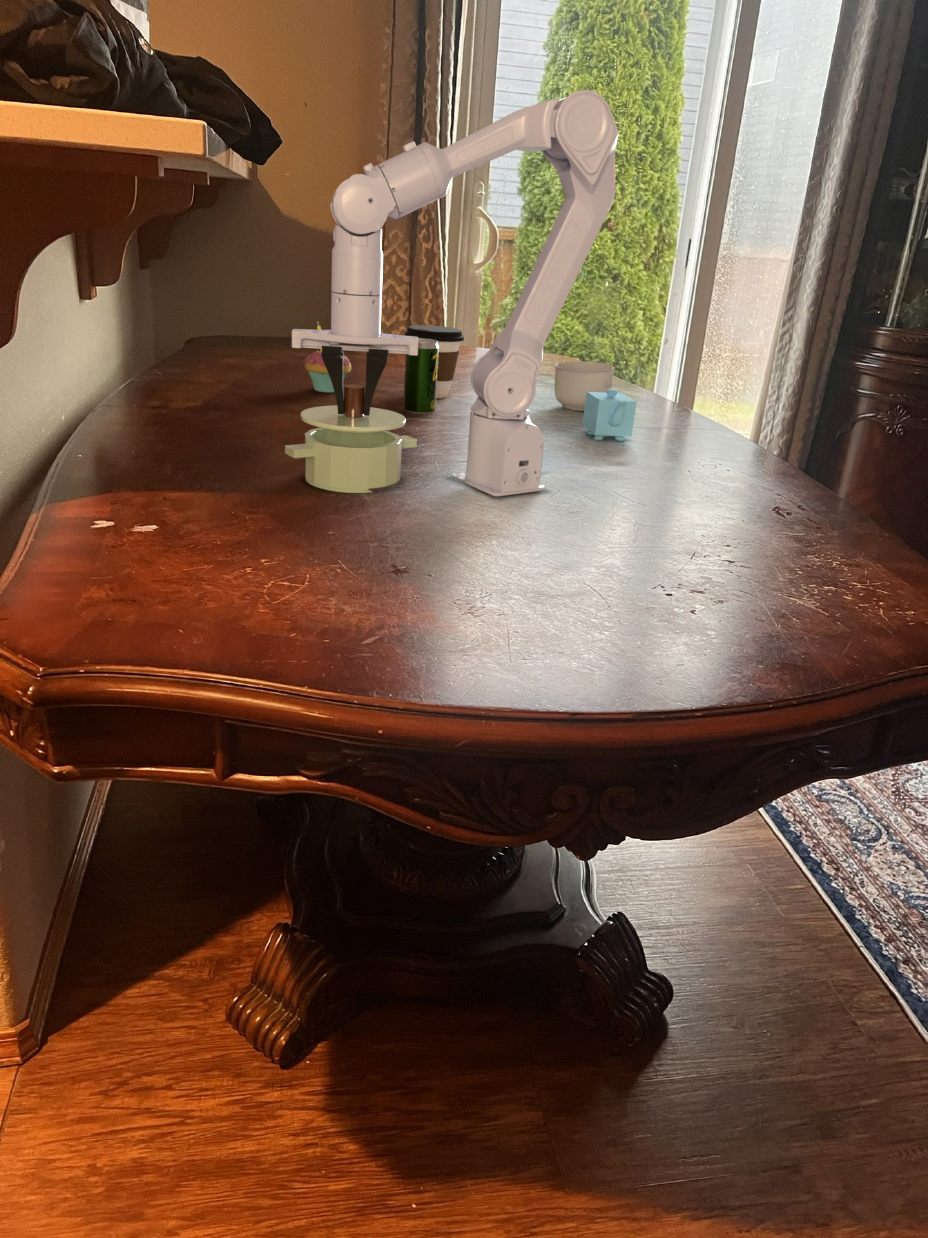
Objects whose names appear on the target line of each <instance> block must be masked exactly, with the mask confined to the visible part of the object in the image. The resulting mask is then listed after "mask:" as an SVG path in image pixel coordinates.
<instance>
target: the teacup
mask: <svg viewBox="0 0 928 1238" xmlns="http://www.w3.org/2000/svg"><path fill="white" fill-rule="evenodd" d="M614 372H615V367H614V366H613V365H612V364H608V363H603V362H598V361H597V362H596V361H584V360H582V361H581V360H570V361H561V362H558V363H555V364H554V396H555V399H556V401H558V403H560V405H561V406H562V407H563V408H564V409H566V410H570V411H577V412H584V409H585V401H586V393H587V392H604V393H607V389H613V380H614Z"/></svg>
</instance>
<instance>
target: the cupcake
mask: <svg viewBox="0 0 928 1238" xmlns="http://www.w3.org/2000/svg"><path fill="white" fill-rule="evenodd" d="M316 323H317V326H316V328H317V329H316V330H322V326H321V325H320V322H319V321H318V320H317V321H316ZM321 355H322V349H319V350H316V351H314V352H312V353H310V354H308V355H307V357H305V359H304V360H303V365H304V369H305V370H307V372H308V374H309V377H310V379H311V382H312V387H313V389H314V391H316V392H320V393H335V392H334V388H333V385H332V382H331V379H330V376H329V374H328V371H327V369H326V366H325V364H324V362H323V359H322V356H321ZM351 371H352V364H351V361H350V359H349V358H348V356H346V355H344V357H343V381H344V380H345V377H346V376H347V374H349V373H351Z"/></svg>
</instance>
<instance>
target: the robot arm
mask: <svg viewBox="0 0 928 1238" xmlns="http://www.w3.org/2000/svg"><path fill="white" fill-rule="evenodd" d="M619 133H620V132H619V129H618V126H617V124H616V121H615V119H614V116H613V113H612V110H611V108H610V105H609V103H608V102H607V101H606V100H605V98H604V97H603V96H602V95H600V93H597V92H595V91H593V90H589V89H580V90H577V91H574V92H572V93H571V94H568V95H567V96H566V97H564V98H559V97H557V98H554V99H550V100H546V101H543V102H540V103H539V102H538V103H536V104H533V105H530V106H526V107H523V108H520V109H518V110H516V111H514V112H511V113H509V114H507V115H506V116H503V117H502V118H500V119H498V120H495V121H494V122H492V123H489V124H488V125H486V126H485V127H482V128H480V129H479V130H477V131H475V132H472V133H471V134H468V135H467V136H465V137H462V138H461V139H459V140H457V141H455V142H453V143H451V144H449V145H447V146H446V147H444V148H439V147H437V146H435V145H433V144H431V143H429V142H426V141H424V142H422V143H419V144H416V142H415V141H414V140H413V141H410V142H408V143H406V144H404V145H403V146H402V151H403V152H401V153H399V154H397V155H395V156H392V157H391V158H389V159H386V160H384V161H383V162H380V163H378V164H376V165H373V163H372V162H370V163H368V164H365V165H363V167H362V169H363V171H364V173H355V174H352V175H351V176H350V177H349V178H347V179H345V180H344V181H342V182H341V183H340V184H339V185H337V187H336V189H335V190H334V192H333V195H332V199H331V202H330V205H329V206H330V212H331V216H332V219H333V220H334V222H335V223H336V224H334V228H333V231H332V241H333V244H334V246H333V247H332V249H331V287H330V288H331V289H330V290H331V293H330V295H331V301H330V303H331V304H330V329H321V330H317V329H309V328H308V329H307V328H305V329H304V328H292V330H291V349H302V348H303V349H318V350H320V349H322V355H321V356H322V359H323V362H324V364H325V366H326V369H327V371H328V374H329V376H330V379H331V382H332V385H333V388H334V392H333V393H334V396H335V400H336V405H337V408H338V414H344V380H343V357H344V354H345V353H344V351H351V352H366V356H365V357H366V364H365V365H366V366H365V386H364V412H363V415H365V416H369V413H370V407H371V405H372V401H373V397H374V394H375V391H376V389H377V386H378V383H379V381H380V379H381V376H382V374H383V372H384V370H385V368H386V366H387V364H388V361H389V354H399V355H406V354H408V355H416V356H417V355H418V340H419V339H418V337H414V336H405V335H404V334H403V335H401V334H391V333H383V332H381V331H382V330H381V329H382V328H381V327H382V300H383V299H382V298H383V273H384V272H383V271H384V268H383V267H384V252H383V250H382V240H383V239H382V237H383V229H382V228H383V226H384V225H385V223H386V221H387V219H388V217H389V218H391V219H392V220H398V219H400V218H402V217H404V216H406V215H408V214H410V213H411V214H412V213H413V212H414V211H417V210H420V209H421V208H424V207H426V206H427V205H430V204H432V203H433V202H435V201H437V200H440V199H442V198H444V197H446V196H447V194H448V192H449V188H450V186H451V183H452V181H453V179H454V178H455V177H457V176H459V175H462V174H464V173H467V172H469V171H471V170H473V169H475V168H478V167H480V166H483V165H485V164H488V163H490V162H492V161H494V160H495V159H498V158H500V157H502V156H504V155H507V154H509V153H511V152H514V151H520V152H527V153H531V154H533V153H537V152H542V154H543V155H544V156H545V158H546V159H547V160H548V161H549V163H550V164H551V166H552V167H553V169H555V171H556V173H557V176H558V178H559V182H560V185H561V187H562V190H563V193H564V197H565V200H564V202H563V203H562V206H561V208H560V210H559V213H558V214H557V216H556V219H555V221H554V223H553V224H552V227H551V230H550V232H549V234H548V236H547V237H546V240H545V242H544V244H543V247H542V248H541V251H540V252H539V255H538V257H537V259H536V261H535V264H534V265H533V267H532V270H531V272H530V274H529V276H528V278H527V281H526V282H525V284H524V287H523V289H522V291H521V293H520V295H519V297H518V300H517V302H516V304H515V306H514V307H513V311H512V313H511V314H510V316H509V319H508V320H507V323H506V325H505V327H504V328H503V329H502V330H501V331H500V333H499V334H498V335H497V336H496V337H495V338H494V340H493V342H492V344H491V346H490V348H489V350H488V351H487V352H486V353H485V354H484V355H482V356H481V357H479V359H478V360H477V361H476V362H475V363H474V365H473V367H472V369H471V372H470V373H471V374H470V375H471V376H470V383H471V387H472V390H473V391H474V393H475V395H476V396H477V398H476V399H475V401H474V403H473V404H471V406H470V416H469V428H468V429H469V431H468V444H467V454H466V455H467V456H466V467H465V468H466V469H465V472H458V473H452V474H451V476H453V477H455V478H457V479H459V480H461V483H463V484H465V485H467V486H470V487H472V488H474V489H476V490H479V491H481V492H483V493H485V494H488V495H490V496H493V497H496V498H497V497H505V496H511V495H512V496H513V495H521V494H526V493H534V492H542V491H544V490H545V485H542V484H541V475H542V466H543V457H544V447H545V441H544V440H545V439H544V435H543V433H542V430H541V429H540V428H539V427H538V426H537V425H535V424H533V422H532V421H531V419H530V409H529V407H531V405H532V404H533V401H534V399H535V396H536V392H537V391H536V389H537V388H536V387H537V377H538V374H539V372H540V370H541V367H542V365H543V355H544V346H545V344H546V342H547V339H548V338H549V335H550V334H551V331H552V329H553V327H554V325H555V323H556V321H557V318H558V317H559V315H560V312H561V311H562V308H563V306H564V304H565V302H566V300H567V298H568V296H569V294H570V292H571V289H572V288H573V286H574V284H575V282H576V280H577V278H578V275H579V274H580V272H581V269H582V268H583V265H584V264H585V261H586V259H587V258H588V255H589V254H590V251H591V249H592V246H593V244H595V241H596V238H597V236H598V235H599V233H600V230H601V229H602V226H603V224H604V223H605V220H606V218H607V216H608V214H609V212H610V210H611V208H612V206H613V204H614V200H615V196H616V147H617V142H618V139H619ZM347 344H348V345H347ZM349 344H350V345H349ZM363 345H364V346H363ZM368 345H369V346H368Z"/></svg>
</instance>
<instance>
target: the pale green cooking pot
mask: <svg viewBox="0 0 928 1238" xmlns="http://www.w3.org/2000/svg"><path fill="white" fill-rule="evenodd" d="M303 437H304V442H303V443H297V444H286V445H284V454H285V455H287V456H289V457H290V458H293V459H302V458H303V459H304V465H303V467H304V469H303V471H304V481H305V482H306V483H307V484H309V485H311V486H313V487H315V488H318V489H322V490H326V491H330V492H336V493H337V492H338V493H346V494H347V493H348V494H370V493H371V494H372V493H373V490H371V489H378V488H386V487H388V486H391V485H395V484H397V483H398V482H399V481H400V480H401V474H402V473H401V472H402V451H403V450H402V449H412V448H417V443H418V440H417V439H416V438H415V437H412V436H410V435H399V434H397V433H394V432H391V431H390V430H386V431H381V432H374V433H348V432H339V431H333V430H328V429H325V428H321V427H316V428H312V429H309V430H308V431H306V432H305V433H304V436H303Z"/></svg>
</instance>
